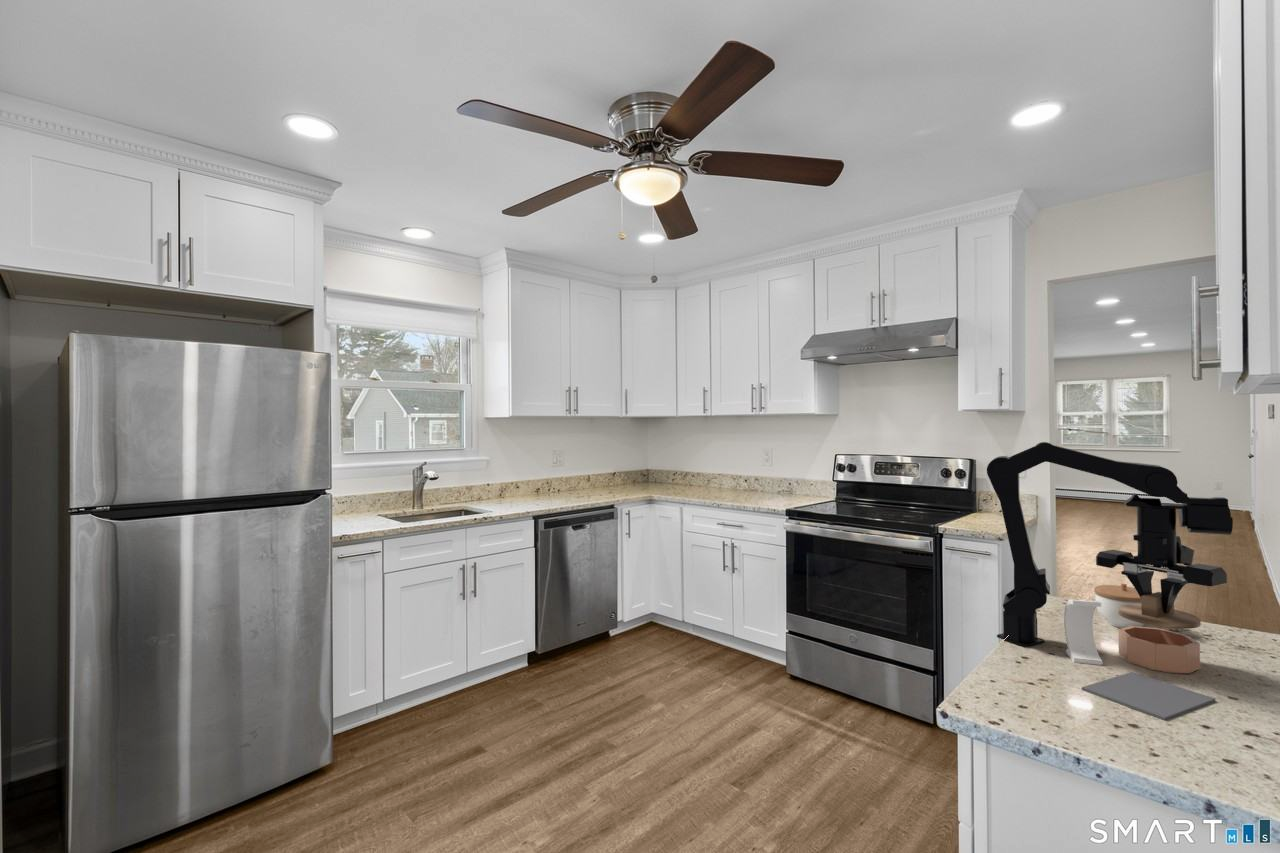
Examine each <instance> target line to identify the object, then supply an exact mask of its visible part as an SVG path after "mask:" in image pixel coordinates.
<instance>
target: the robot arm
mask: <svg viewBox="0 0 1280 853" xmlns="http://www.w3.org/2000/svg"><path fill="white" fill-rule="evenodd" d="M1044 463H1052V464H1055V465H1058V466H1062V467H1066V468H1070V469H1074V470H1077V471H1080V472H1085V473H1089V474H1091V475H1097V476H1100V477H1104V478H1106V479H1111V480H1113V481H1116V482H1118V483H1121V484H1123V485H1125V486H1128V487H1129V488H1132V489H1134V490H1137V491H1139V492H1141V493H1143V494H1146V495H1149V496H1151V497H1140V496H1139V495H1138V494H1137V493H1133V494H1132V495H1131V496H1130V497H1129V498H1127V499H1126V500H1124V502H1123V503H1124V505H1125V506H1127V507H1132V508H1134V507H1135V508H1136V526H1137V528H1136V531H1137V532H1136V534H1133V535H1132V536H1133V541H1137V555H1133V553H1132V552H1129V551H1124V550H1119V549H1117V550H1116V549H1108V550H1103V551H1099V552H1098V553H1097V554H1096V556H1095V565H1096V566H1097V567H1098V566H1099V567H1103V568H1109V569H1114V568H1115V567H1116V566H1118V565H1119V566H1123V570H1122V571H1120V573H1121V575H1124V576H1126V578H1127V579H1128V581H1129V582H1130V583H1131V584H1132V587H1133V588H1135V589H1136V591H1137V592H1138V594H1139V596H1140V598H1141V596H1143V595H1147V594H1152V593H1153V587H1152V580H1153V576H1154V574H1155V572H1158V573H1163V574H1166V576H1167V577H1165V578H1160V579H1159V580H1160V592H1161V597H1162V608H1163V612H1164V613H1166V614H1167V613H1169V612H1170V610H1171V608H1172V606H1173V603H1174V604H1175V601H1176V599H1177V597H1178V595H1179V593H1180V592H1181V590H1182V589H1183V588H1184V586H1186V585H1189V584H1194V585H1198V586H1199V585H1200V586H1204V587H1205V586H1206V587H1215V586H1219V585H1223V584H1224V585H1225V584H1227V583H1228V580H1227V579H1228V578H1227V577H1228V576H1227V575H1228V574H1227V573H1226V571H1225V570H1224V569H1223V567H1222V566H1217V565H1215V566H1214V565H1210V564H1203V563H1194V564H1193V560H1194V555H1195V550H1194V549H1193V548H1190V547H1189V546H1186V545H1183V544H1182V539H1181V536H1179V535H1177V512H1176V511H1177V510H1178V522H1179V527H1181V528H1185V527H1186V529H1187V532H1188V533H1192V534H1208V535H1210V534H1211V535H1223V536H1231V534H1232V532H1233V528H1234V527H1233V524H1234V522H1233V521H1234V519H1233V517H1232V515H1231V514H1232V513H1231V509H1230V506H1229V499H1228V498H1226V497H1222V496H1221V497H1192V496H1191V497H1190V496H1188V493H1186V492H1185V491H1183V490H1182V489H1181V488H1180V487H1179V486H1178V478H1177V476H1176V475H1175V473H1174V472H1173V471H1172V470H1170V469H1169V468H1165V467H1164V466H1160V465H1157V464H1149V463H1140V462H1130V461H1122V460H1121V461H1120V460H1114V459H1110V458H1106V457H1102V456H1098V455H1095V454H1090V453H1085V452H1083V451H1078V450H1075V449H1072V448H1066V447H1063V446H1059V445H1058V446H1057V445H1055V444H1053V443H1050V442H1049V441H1048V442H1047V441H1040V442H1039V443H1037V444H1035V445H1034V446H1032V447H1030V448H1027V449H1025V450H1023V451H1020V452H1018V453H1015V454H1013V455H1011V456H1006V455H1000V456H997V457H994V458H993V459H992V460H990V462H989V463H988V465H987V467H986V474H987V477H988V479H989V482H990V484H991V486H992V488H993V490H994V492H995V494H996V497H997V498H998V500H999V503H1000V508H1001V512H1002V517H1003V521H1004V525H1005V531H1006V535H1007V539H1008V543H1009V548H1010V553H1011V557H1012V561H1013V589H1011V590H1010V591H1009V592H1008V593H1006V594H1005V595H1004V599H1003V603H1002V607H1003V611H1002V615H1003V616H1002V618H1003V620H1002V624H1003V625H1002V626H1003V627H1002V629H1003V633H998V634H996V638H998V639H1001V640H1004V639H1005V638H1006V637H1007V636H1008V635H1009V636H1008V637H1007V638H1006V639H1005V640H1004V641H1007V642H1010V643H1013V644H1016V645H1020V646H1022V647H1030V646H1034V645H1035V646H1036V645H1039V644H1041V643H1045V639H1044V638H1040V637H1038V618H1037V617H1038V615H1037V613H1038V611H1036V610H1039V609H1042V608H1043V607H1044V605H1046V603H1047V600H1048V597H1047V595H1050V594H1051V586H1050V584H1049V583H1048V581H1047V572H1046V570H1047V569H1046V568H1040V569H1039V568H1038V566H1037V564H1036V562H1035V560H1034V556H1033V552H1032V551H1033V550H1032V548H1031V542H1030V538H1029V534H1028V531H1027V530H1028V528H1027V526H1026V525H1027V524H1026V521H1025V516H1024V512H1023V508H1022V503H1021V499H1020V474H1021V473H1023V472H1025V471H1028V470H1030V469H1032V468H1035V467H1036V466H1038V465H1041V464H1044ZM1153 497H1154V498H1153ZM1155 497H1158V498H1155ZM1163 497H1164V498H1167V499H1168V500H1170V501H1172V502H1174V503H1162V501H1161V499H1160V498H1163ZM1176 509H1177V510H1176ZM1181 564H1182V565H1181Z"/></svg>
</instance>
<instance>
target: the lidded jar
mask: <svg viewBox="0 0 1280 853" xmlns="http://www.w3.org/2000/svg"><path fill="white" fill-rule="evenodd" d="M1094 599H1095V600H1094V601H1099V602H1101V607H1096V608H1097V611H1098V614H1099V615H1100V616H1101V617H1102V618H1103V620H1105V621H1106V623H1107V624H1108V625H1110V626H1113V627H1116V628H1118V629H1121V628H1125V627H1129V626H1139V627H1145V626H1146V625H1147V624H1143V623H1139V622H1135V621H1132V620H1129V619H1126V618H1124V617H1122V616H1121V615H1119V613H1118V608H1119V607H1120V606H1123V605H1141V598H1140V596H1139V594H1138V592H1137V591H1136V589H1135V587H1134V586H1132V587H1131V586H1127V583H1120V585H1116V584H1115V585H1114V584H1113V585H1112V584H1103V585H1097V586H1095V587H1094Z"/></svg>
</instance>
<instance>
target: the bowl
mask: <svg viewBox="0 0 1280 853" xmlns="http://www.w3.org/2000/svg"><path fill="white" fill-rule="evenodd" d="M1117 630H1118V631H1117V632H1118V633H1117V634H1118V637H1117V638H1118V654H1119V655H1120V656H1122V657H1123V659H1124V660H1126V662H1129V663H1131V664H1133V665H1136V666H1138V667H1141V668H1144V669H1149V670H1151V671H1156V672H1163V673H1171V674H1190V673H1194V672H1195V671H1198V670H1200V669H1201V657H1200V656H1201V643H1199V642H1198V641H1197V640H1195V639H1194V638H1192V637H1191V636H1189V635H1188V634H1182V633H1179V632H1176V631H1173V630H1172V631H1171V630H1168V629H1164V628H1161V627H1159V628H1158V627H1149V626H1142V627H1139V626H1129V627H1125V628H1118V629H1117Z"/></svg>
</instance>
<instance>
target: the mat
mask: <svg viewBox="0 0 1280 853" xmlns="http://www.w3.org/2000/svg"><path fill="white" fill-rule="evenodd" d="M1081 690H1082V691H1085V692H1087V693H1090V694H1092V695H1095V696H1099V697H1101V698H1104V699H1106V700H1109V701H1111V702H1114V703H1117V704H1120V705H1123V706H1125V707H1128V708H1131V709H1133V710H1136V711H1139V712H1141V713H1144V714H1146V715H1149V716H1152V717H1154V718H1157V719H1160V720H1162V721H1167V720H1169V719H1171V718H1174V717H1177V716H1179V715H1183V714H1185V713H1187V712H1189V711H1192V710H1195V709H1198V708H1201V707H1204V706H1206V705H1208V704H1211V703H1214V702H1216V698H1215V697H1212V696H1209V695H1205V694H1202V693H1199V692H1196V691H1193V690H1190V689H1187V688H1184V687H1181V686H1178V685H1174V684H1171V683H1168V682H1165V681H1162V680H1159V679H1155V678H1153V677H1150V676H1146V675H1143V674H1141V673H1138V672H1137V673H1136V672H1134V671H1130V672H1127V673H1123V674H1120V675H1117V676H1113V677H1111V678H1107V679H1104V680H1101V681H1097V682H1094V683H1091V684H1088V685H1085V686H1081Z"/></svg>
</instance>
